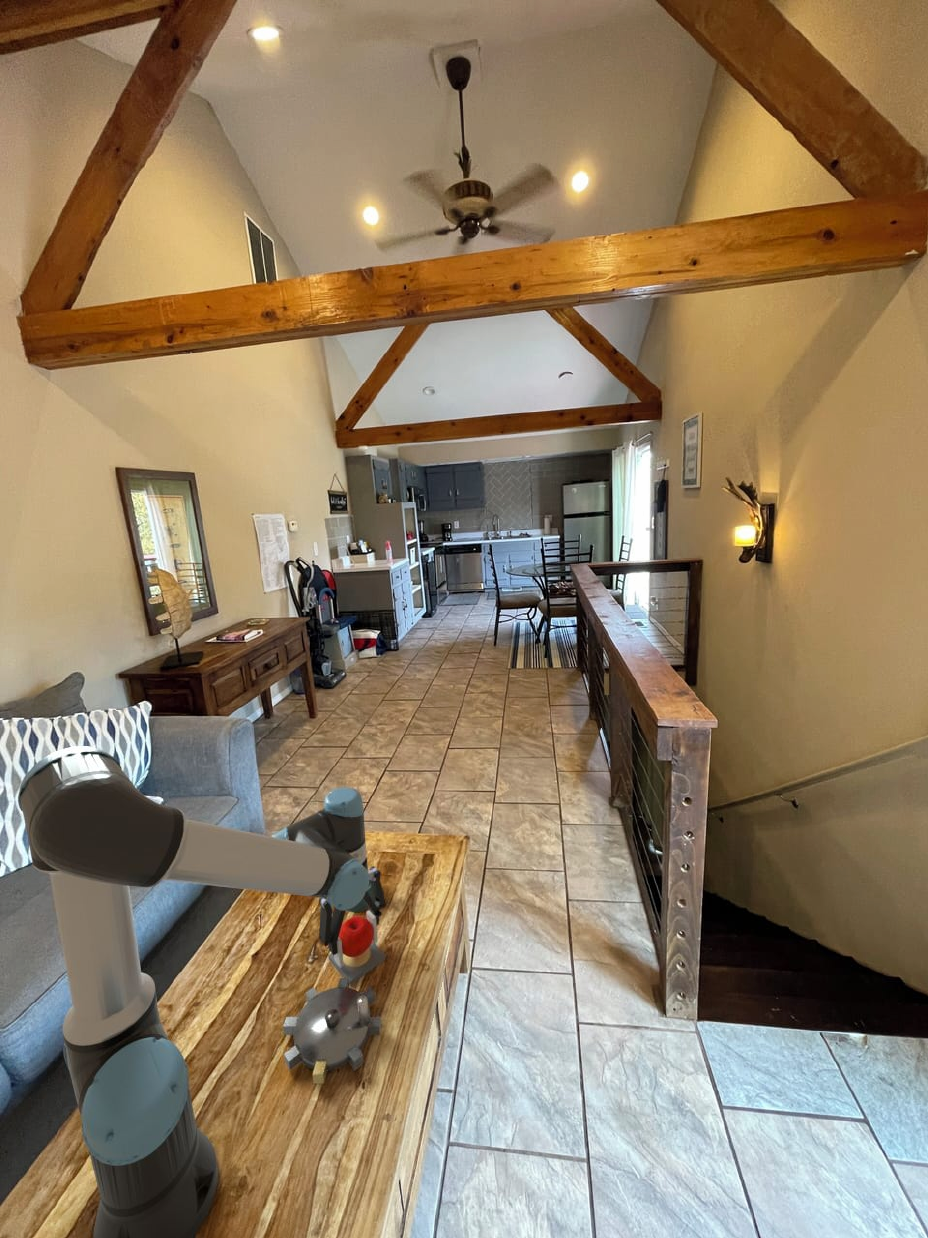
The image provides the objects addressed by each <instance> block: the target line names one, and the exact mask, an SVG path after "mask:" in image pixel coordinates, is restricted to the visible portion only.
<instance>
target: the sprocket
mask: <svg viewBox="0 0 928 1238" xmlns="http://www.w3.org/2000/svg"><path fill="white" fill-rule="evenodd" d="M305 1002H306V1003H305V1005H304V1006H303V1007H302V1008H301V1010H300V1012H299V1013H298V1015H297V1016H286V1017H285V1021H284V1022H283V1025H282V1028H283V1035H284V1036H292V1038H293V1039H292V1040H293V1045H294V1046H292V1047H291V1048H290V1049H288V1051H285V1053H284V1054H283V1055H284V1063H285V1065H286V1066H287V1069H288V1070H289V1071H292V1070H293V1069H294V1068H295V1067H296V1066H298V1064H300V1063H301V1064H303V1066H305V1067H307V1068H309V1069H311V1070H313V1071H312V1079H313V1080H312V1083H313V1084H323V1085H324V1084H325V1082H326V1077H327V1074H328V1071H331V1070H334V1069H338V1068H340V1067H343V1066H344V1065H346V1064H347V1063H349V1065H350V1066H351V1068H352V1069H353V1071H357V1069H359V1068H360V1067H361V1066H362V1065H363V1064H364V1054H363V1052H362V1049H363V1048H364V1046H365V1045H366V1043H367V1041H368V1038H369V1036H380V1035H381V1030H382V1017H381V1016H371V1009H370V1006H371V1005H373V1004H374V1003H375V1002H377V998H376V992H375V991H374V989H372V987H371V986H370V987H368V988H367V989H365V990H364V991H363V992H362V993H361V992H359V991H358V990H357V989H354V988H352V987H350V985H349V978H343V977H340V978H339V979H338V984H337V986H336V987H332V988H328V989H326V990H323V991H322V992H320V993H318V991H317V989H316V988H315V987H314V986H313V987H312V988H311V989H309V990H307V991H306V992H305ZM331 1009H336V1010H337V1011H338V1016H339V1021H338V1023H337V1024H336V1025H335V1026H333V1027H328V1026H327V1025H326V1022H325V1015H326V1013H327V1012H328V1011H329V1010H331Z"/></svg>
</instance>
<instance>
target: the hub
mask: <svg viewBox="0 0 928 1238" xmlns="http://www.w3.org/2000/svg"><path fill="white" fill-rule="evenodd" d="M338 1021H339V1016H338V1011H337V1010H336V1009H331V1010H329V1011H328V1012H327V1013H326V1015H325V1022H326V1025H327V1026H328V1027H333V1026H335V1025H336V1024H337V1023H338Z"/></svg>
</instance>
